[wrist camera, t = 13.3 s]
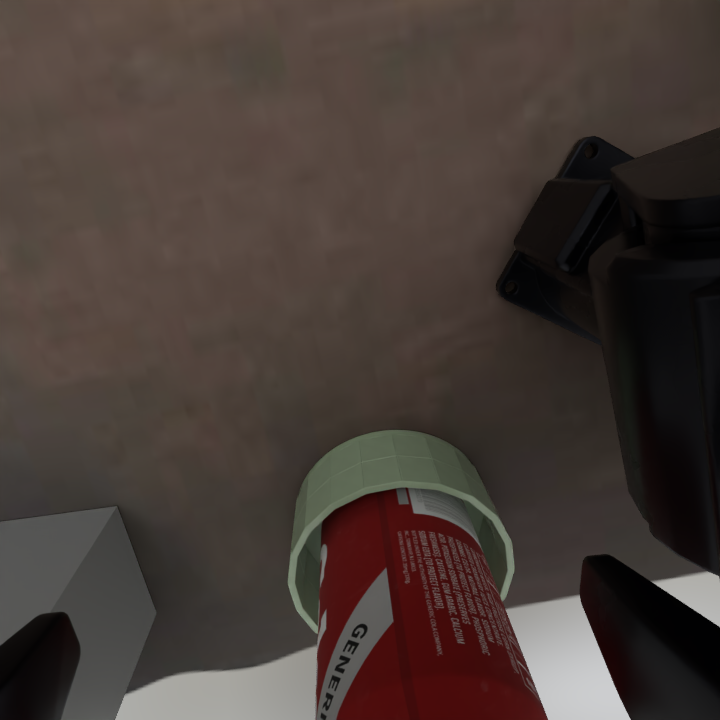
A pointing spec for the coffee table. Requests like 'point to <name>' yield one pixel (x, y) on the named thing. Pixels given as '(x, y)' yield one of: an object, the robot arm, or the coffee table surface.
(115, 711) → the perfume bottle
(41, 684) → the robot arm
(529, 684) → the soda can
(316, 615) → the crock
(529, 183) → the coffee table surface
